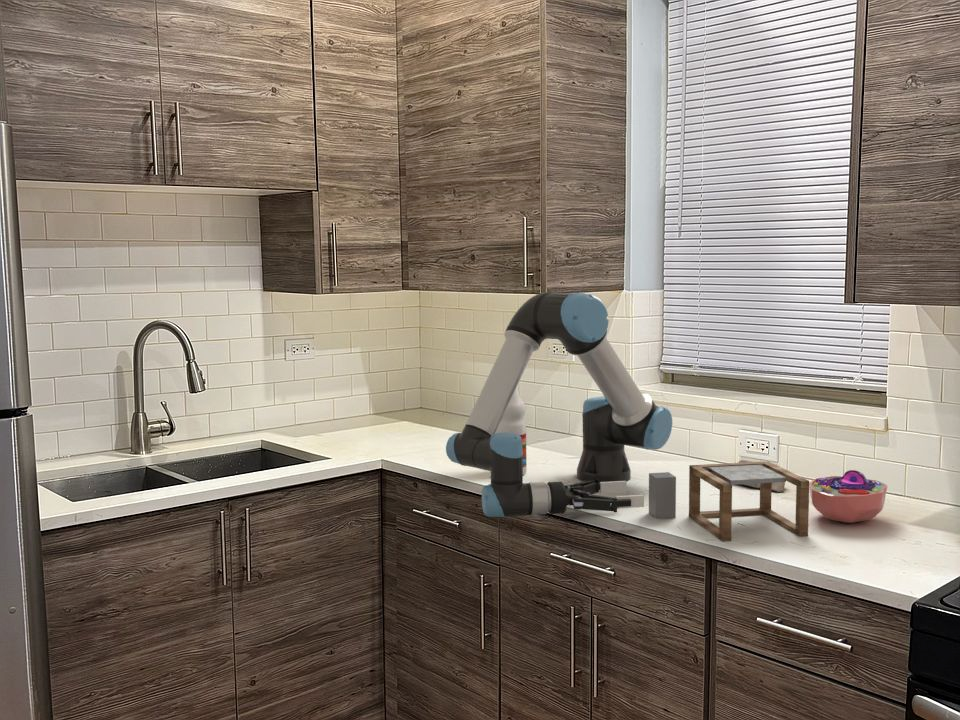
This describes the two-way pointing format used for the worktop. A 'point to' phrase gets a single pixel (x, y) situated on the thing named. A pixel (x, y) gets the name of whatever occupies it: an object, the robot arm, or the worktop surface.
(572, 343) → the robot arm
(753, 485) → the concrete fragment
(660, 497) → the basalt block
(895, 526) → the worktop surface
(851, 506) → the cell model
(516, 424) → the fruit juice
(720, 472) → the trapdoor flap
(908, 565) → the worktop surface
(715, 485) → the stand
